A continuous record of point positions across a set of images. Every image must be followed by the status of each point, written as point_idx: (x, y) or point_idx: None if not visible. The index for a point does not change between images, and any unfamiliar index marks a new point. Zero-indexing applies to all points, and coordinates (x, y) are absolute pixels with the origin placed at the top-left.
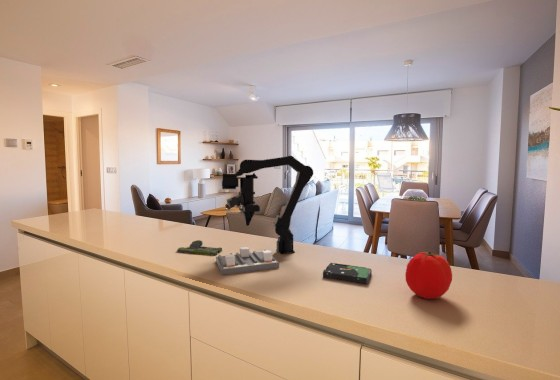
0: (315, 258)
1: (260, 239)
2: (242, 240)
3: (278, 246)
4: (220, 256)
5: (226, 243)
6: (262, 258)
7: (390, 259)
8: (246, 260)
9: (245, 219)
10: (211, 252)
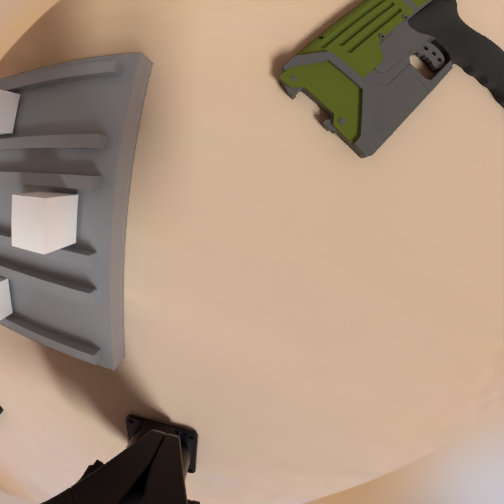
0: (66, 446)
1: (419, 433)
2: (471, 354)
3: (137, 437)
4: (81, 70)
5: (483, 252)
6: (2, 278)
7: None
8: None
9: (84, 480)
10: (294, 56)
